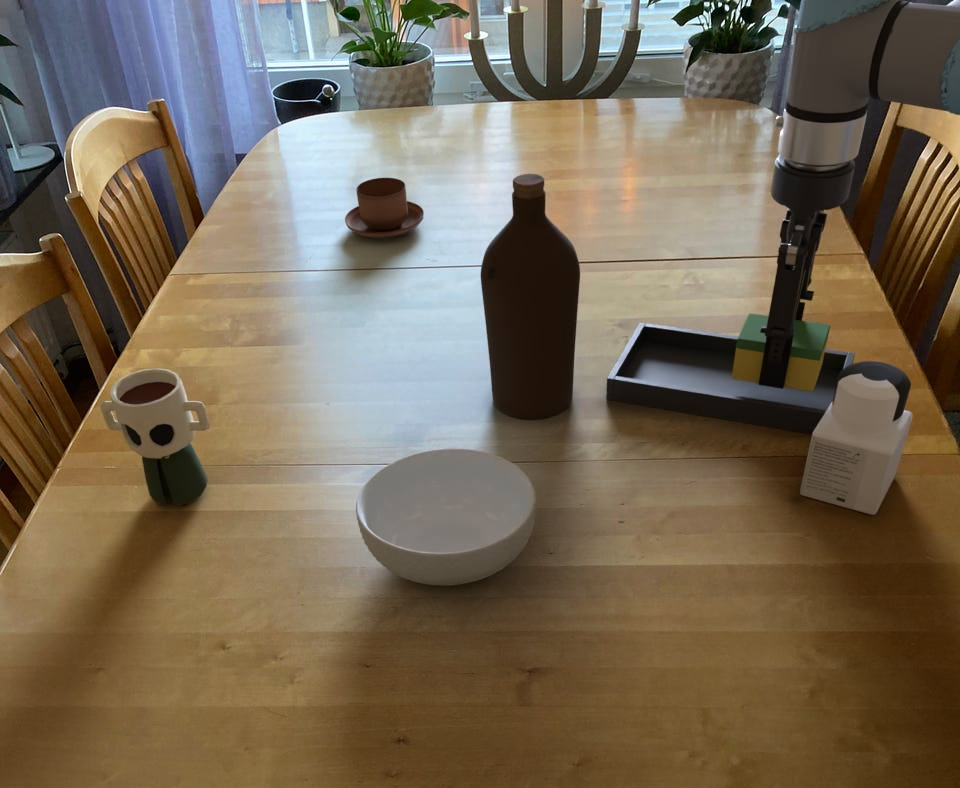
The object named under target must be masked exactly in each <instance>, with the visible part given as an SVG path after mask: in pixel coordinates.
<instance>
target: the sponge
mask: <svg viewBox="0 0 960 788" xmlns="http://www.w3.org/2000/svg"><path fill="white" fill-rule="evenodd" d="M768 317H769V315H763V314H757V313H748V314H747V316H746V319H745V321H744V323H743V326H742V328H741V330H740V332H739V334H738V339H737V346H736V352H735V359H734V366H733V373H732V379H736V380H742V381H748V382H754V383H759V378H760V372H761V367H762V361H763V355H764V349H765V343H766V336H765V333H760V331H761V327H762V326H766V327H767V322H768ZM793 329H794V337H793V342H792V347H791V353H790V358H789V363H788V368H787V374H786V379H785V384H784V387H785V388H791V389H798V390H804V391H810V392H813V391H814V388H815V385H816V382H817V379H818V376H819V373H820V369H821V366H822V363H823V358H824V353H825V349H827V343H828V339H829V335H830V330H831V324H828V323H820V322H815V321H808V320H807V321H806V320H802V321H800V320H795V322H794V327H793Z"/></svg>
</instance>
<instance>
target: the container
mask: <svg viewBox="0 0 960 788" xmlns="http://www.w3.org/2000/svg"><path fill="white" fill-rule="evenodd" d="M911 387H912V382H911V380H910V377H909V376H908V375H907V374H906V372H905V371H903V370H902V369H901V368H899V367H898V366H895V365H893V364H890V363H886V362H882V361H875V360H873V361H872V360H871V361H869V360H863V361H858V362H853V364H851V365H849V366H847V367H846V368H844V369H843V370H842V371H841V372H840V373H839V375H838V379H837V384H836V388H835V393H834V397H833V401H832V403H831V404H830V406H829V407H828V409H827V411H826V412H825V414H824V415H823V417H822V419H821V420H820V422H819V423H818V425H817V427H816V428H815V430H814V431H813V433H812V434H811V437H810V438H811V439H810V443H809V447H808V453H807V458H806V462H805V466H804V470H803V475H802V480H801V484H800V489H799V494H800V495H801V496H803V497H805V498H810V499H813V500H817V501H821V502H825V503H828V504H831V505H834V506H839V507H843V508H846V509H849V510H852V511H856V512H860V513H863V514H867V515H871V516H874V515H876V514H877V512H878V511H879V509H880V508H881V505H882V503H883V501H884V499H885V497H886V495H887V493H888V491H889V490H890V487H891V485H892V483H893V481H894V480H895V477H896V475H897V472H898V469H899V467H900V466H899V465H900V462H901V459H902V456H903V451H904V449H905V445H906V441H907V439H908V435H909V431H910V428H911V425H912V421H913V419H914V413H913V412H911V411H908V410H905V408H906V405H907V401H908V397H909V394H910V391H911Z"/></svg>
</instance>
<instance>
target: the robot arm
mask: <svg viewBox="0 0 960 788" xmlns="http://www.w3.org/2000/svg"><path fill="white" fill-rule="evenodd" d="M793 33H794V35H793V36H794V37H793V41H792V51H791V56H790V57H791V58H790V65H789V70H788V79H787V86H786V94H785V99H784V104H783V107H784V108H783V113H782V115H777V117H776V119H775V121H774V125H775V127H776V128H781V129H782V130H781V131H780V132H779V137H778V145H777V153H779V155H777V157H776V158H775V161H774V166H773V173H772V179H771V185H770V195H771V198H772V199H773V200H774V202H775V203H777V204H779V205H780V206H784V207H786V208H787V210H786V214H785V219H784V218H783V219H782V222H781V227H780V231H779V238H780V245H779V247H778V251H777V252H778V254H777V258H776V264H777V266H776V271H775V278H774V283H773V290H772V295H771V300H770V306H769V312H768V316H769V317H768V322H767V327H766V326H762V327H761V331H760V333H765V336H766V343H765V349H764V355H763V361H762V367H761V372H760V378H759V384H758V385H763V386H769V387H775V388H781V389H783V387H784V384H785V379H786V374H787V368H788V363H789V358H790V353H791V347H792V342H793V337H794V329H793V327H794V322H795V320H800V321H803V317H804V312H805V307H806V302H804V301H810V302H812V301H813V299H814V295H815V291H814V290H808V289H809V287H810V285H812V280H813V279H812V274H813V269H814V264H815V258H816V253H817V252H818V250H819V246H820V243H821V239H822V233H823V232H824V229H825V226H826V224H827V218H828V213H825V211H830V210H833V209H836V208H838V207H841V206H842V205H843V204H844V203H846V201H847V200H848V198H849V197H850V193H851V187H852V183H853V178H854V173H855V168H856V162H855V161H854V159H856V157H857V156H858V155H859V151H860V147H861V142H862V139H863V133H864V129H865V123H866V119H867V114H868V108H869V102H870V99H873V100H878V101H886V102H891V103H897V104H902V105H908V106H914V107H919V108H925V109H931V110H938V111H943V112H948V113H949V114H951V115H952V114H953V115H956V116H960V0H952V1H950V2H949V3H948V4H947V5H945V4H932V3H931V4H930V3H922V2H921V3H920V2H912V1H906V0H801V1H800V6H799V10H798V15H797V20H796V24H795V26H794V28H793Z"/></svg>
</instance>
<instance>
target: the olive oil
mask: <svg viewBox="0 0 960 788" xmlns="http://www.w3.org/2000/svg"><path fill="white" fill-rule="evenodd" d="M544 188H545V178H544V177H543V176H542V175H540V174H536V173H523V174H520V175H517V176H515V177H514V178H513V179H512V189H513V191H512V192H511V204H512V216H511V219H510V220H509V221H508V222H507V223H506V224H505V225H504V227H502V229H501V230H500V231H498V233H497V234H496V236H494V237H493V239H492V240H491V241H490V242H489V244H488V245H487V247H486V250H485V251H484V254H483V257H482V258H483V259H482V262H481V267H480V285H481V295H482V303H483V311H484V313H483V314H484V320H485V321H484V322H485V330H486V340H487V349H488V351H487V352H488V360H489V371H490V382H491V395H492V401H493V404H494V406H495V407H496V408H497V409H498V410H499V411H500V412H502V413H503V414H505V415H507V416H510V417H512V418H516V419H522V420H539V419H544V418H545V419H546V418H548V417H552V416H555V415H557V414H560V413H561V412H563V411H565V410H566V409H567V408H568V407H569V406H570V404H571V403H572V401H573V395H574V378H575V377H574V374H575V372H574V371H575V356H576V355H575V354H576V353H575V352H576V339H577V338H576V337H577V323H578V310H579V297H580V282H581V267H580V265H581V264H580V261H579V258H578V254H577V251H576V249H575V246H574V244H573V243H572V242H571V240H570V239H569V238H568V237H567V235H565V233H564V232H563V231H562V230H561V229H559V227H557V225H555V224H554V223H553V222H552V220H550V218H549V217H548V216H547V215H546V194H547V193H546V191H545V189H544Z"/></svg>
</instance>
